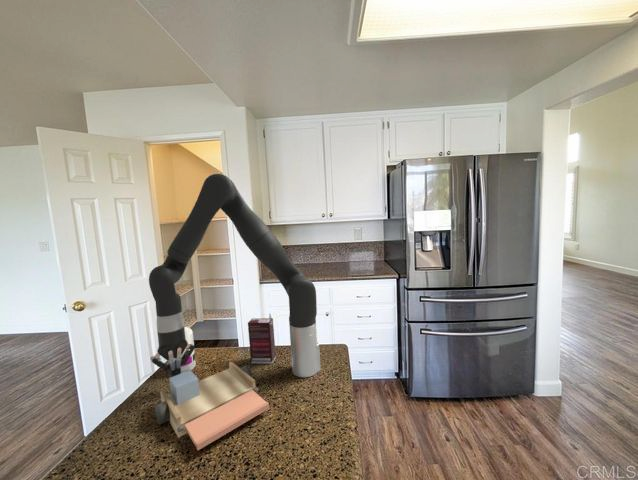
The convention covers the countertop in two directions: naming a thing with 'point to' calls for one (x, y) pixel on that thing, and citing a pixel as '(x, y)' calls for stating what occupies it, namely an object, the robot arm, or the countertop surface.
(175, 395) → the blue gray block
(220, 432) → the pink rectangular board
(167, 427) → the countertop surface
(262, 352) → the supplement box
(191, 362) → the supplement can
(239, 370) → the flatbed
